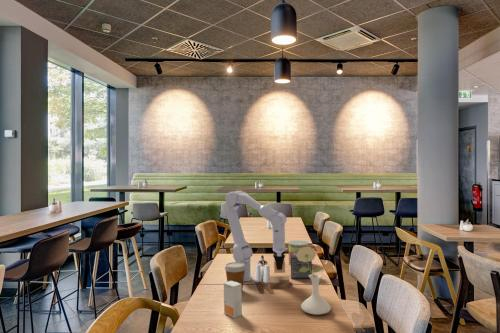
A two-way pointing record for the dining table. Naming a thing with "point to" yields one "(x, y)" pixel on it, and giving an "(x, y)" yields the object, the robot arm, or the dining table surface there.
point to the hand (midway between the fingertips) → (279, 267)
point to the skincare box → (233, 299)
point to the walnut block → (279, 282)
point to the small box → (298, 265)
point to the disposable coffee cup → (235, 272)
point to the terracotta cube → (279, 270)
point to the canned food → (296, 248)
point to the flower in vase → (315, 301)
